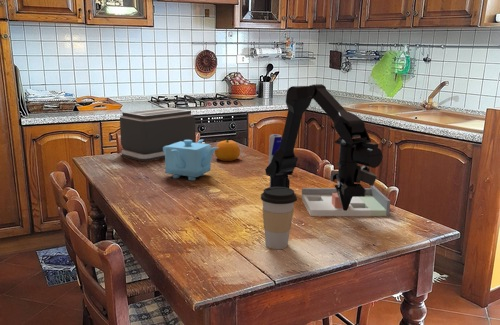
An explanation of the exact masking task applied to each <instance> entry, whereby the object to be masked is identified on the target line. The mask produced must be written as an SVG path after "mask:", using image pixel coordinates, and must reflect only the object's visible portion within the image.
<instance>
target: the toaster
mask: <svg viewBox="0 0 500 325" xmlns="http://www.w3.org/2000/svg"><path fill="white" fill-rule="evenodd" d="M121 114H122V115H120V116H119V130H120V132H119V134H120V146H121V147H122V149H121V156H122V157H124V158H127V159H131V160H135V161H138V162H151V160H152V161H156V160H155V159H157V160H161V159H160V158H162V159H165V153H164V151H163V147H164V146H168V145H171V144H174V143H177V142H180V141H182V142H184V140H192V143H196V117H195V116H194V115H193V114H192V110H188V109H184V108H176V107H175V108H174V107H160V108H159V107H158V108H149V109H142V110H140V109H139V110H132V111H130V110H129V111H123V112H122V113H121Z"/></svg>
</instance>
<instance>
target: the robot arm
mask: <svg viewBox="0 0 500 325" xmlns="http://www.w3.org/2000/svg"><path fill="white" fill-rule="evenodd" d="M313 100H314V101H315V103H316V104H317V105H318V106H319V107H320V108H321V110H323V111H324V113H325V114H326V115H327V116H328V117H329V118H330V119H331V121H332V122H333V128H334V130H335V131H336V133H337V135H338V136H339V138H337V139H336V140H335V141H334V143H335V144H336V145H339V152H338V153H339V155H338V161H337V162H336V165H337V166H338V170H332V172H331V173H330V178H329V179H330V181H331V182H335V180H336V182H337V184H334V188H336V191H337V194H338V197H339V199H340V202H341V205H342V208H343V210H344V211H347V209H348V207H349V204H350V202H351V199H352V197H364V196H365V194H366V190H365V189H364V186H362V184H361V182H362V183H365V184H368V185H370V187H371V186H375V185H374V184H375V182H376V180H377V178H378V176H377V175H376V174H375V173H374V172H372V171H370V168H373V169H376V168H378V167H379V166H380V164H381V163H382V161H383V153H382V152H383V151H382V150H381V148H379V143H376V142H372V139H371V137H370V135H369V133H368V131H367V129H366V127H365V122H364V120H362V118H360V117H359V116H357V115H356V114H354V113H352V112H350V111H348V110H346V109H345V108H344V107H343V106H342V105H341V103H340V102H339V101H338V100H336V98H335V97H334V96H333V95H332V94H331V93H330V92H329V90H328V89H327V88H326V85H324V84H319V83H317V84H311V85H294V86H293V85H291V86H290V87H288V88H287V90H286V97H285V104H286V107H287V114H286V119H285V123H284V128H283V132H282V135H281V137H282V140H281V144H280V148H279V149H278V150H277V151H276V152H275V153H274V155H273V158H272V160H271V163H270V164H269V163H268V165H267V167H266V168H265V170H264V171H265V175H266V176H267V177H269V187H286V188H290V181H291V180H290V178H289V176H293V174H294V170H295V169H296V168H297V162H298V159H299V158H298V157H297V156H296V154H295V151H294V150H295V145H296V144H297V138H298V134H299V130H300V127H301V123H302V118H303V116H304V113H305V112H306V110H308V108H309V107H310V106H311V102H312V101H313ZM361 165H362V166H361Z"/></svg>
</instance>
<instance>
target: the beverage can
mask: <svg viewBox="0 0 500 325" xmlns="http://www.w3.org/2000/svg"><path fill="white" fill-rule="evenodd" d="M268 140H269V143H268V144H269V147H268V165H269V164H270V163H271V160H272V158H273V155H274V153H275V152H276V151H277V150H278V149H279V148H280V144H281V140H282V135H281V134H273V133H271V134H270V135H269V139H268Z"/></svg>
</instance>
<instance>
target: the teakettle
mask: <svg viewBox="0 0 500 325" xmlns="http://www.w3.org/2000/svg"><path fill="white" fill-rule="evenodd" d="M203 142H204V139H199V140H198V141H197V142H195V143H192V140H184V142H182V141H180V142H177V143H174V144H171V145H168V146H164V147H163V151H164V153H165V158H164V163H165V164H164V165H165V167H164V169H165V170H164V171H165V174H168V175H172V177H171V178H172V179H179V178H180V177H181V176H185V177H187V180H188V181H196V178H199V177H204V176H205V174H206V173H208V172H210V171H211V167H212V166H211V165H212V164H211V162H212V158H213V155H214V153H215V150H216V149H218V147H216V146H214V147H212V146H211V144H209V143H203Z"/></svg>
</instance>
